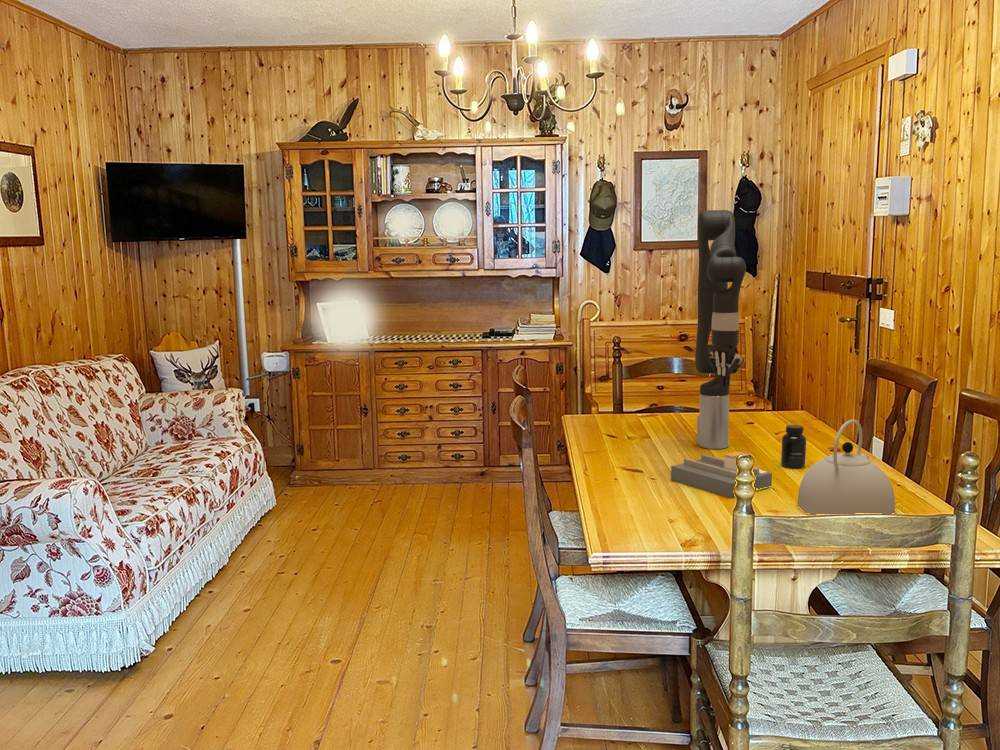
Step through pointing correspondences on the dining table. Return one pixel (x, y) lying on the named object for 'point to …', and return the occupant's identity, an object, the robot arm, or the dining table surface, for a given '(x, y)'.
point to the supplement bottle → (793, 447)
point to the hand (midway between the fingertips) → (724, 387)
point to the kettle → (846, 483)
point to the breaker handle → (731, 461)
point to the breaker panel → (714, 475)
